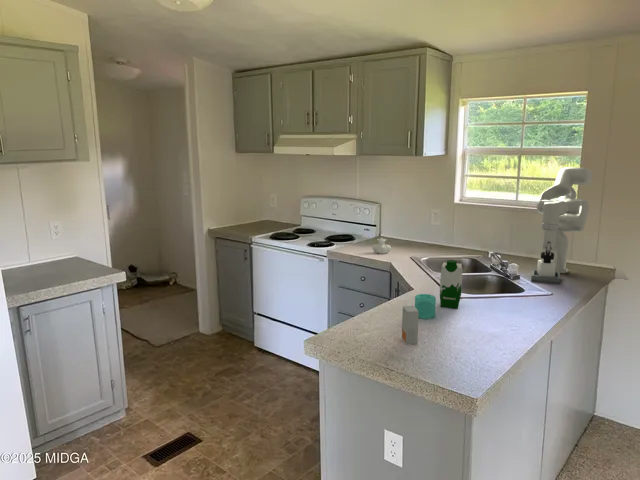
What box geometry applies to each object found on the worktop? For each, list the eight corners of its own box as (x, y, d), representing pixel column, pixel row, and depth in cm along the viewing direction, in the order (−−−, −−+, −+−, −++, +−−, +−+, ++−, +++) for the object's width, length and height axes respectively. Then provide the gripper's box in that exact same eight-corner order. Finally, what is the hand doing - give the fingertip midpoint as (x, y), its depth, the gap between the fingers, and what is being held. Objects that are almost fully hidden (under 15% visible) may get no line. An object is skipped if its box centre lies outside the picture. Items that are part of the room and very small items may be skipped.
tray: (531, 275, 256) (532, 269, 255) (559, 277, 250) (559, 272, 250) (531, 281, 244) (531, 275, 243) (559, 284, 239) (560, 278, 238)
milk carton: (438, 307, 204) (440, 261, 200) (440, 301, 213) (442, 257, 209) (459, 310, 201) (462, 263, 198) (461, 303, 210) (463, 258, 206)
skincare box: (401, 337, 172) (402, 305, 170) (413, 337, 172) (414, 305, 170) (405, 344, 166) (406, 311, 164) (417, 344, 167) (419, 311, 164)
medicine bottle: (555, 277, 243) (557, 253, 240) (539, 276, 244) (541, 253, 242) (551, 273, 250) (553, 250, 247) (536, 272, 251) (538, 250, 249)
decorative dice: (434, 313, 198) (435, 294, 196) (435, 319, 190) (435, 300, 189) (414, 311, 199) (415, 293, 198) (414, 318, 192) (415, 299, 190)
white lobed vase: (371, 256, 310) (371, 244, 301) (372, 247, 315) (372, 235, 306) (390, 257, 308) (390, 245, 299) (391, 248, 313) (391, 236, 304)
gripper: (541, 223, 251) (539, 257, 255) (541, 229, 236) (538, 264, 239) (558, 224, 248) (554, 258, 252) (558, 230, 233) (555, 265, 236)
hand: (547, 261), depth 245 cm, fingers closed on medicine bottle, 7 cm apart
